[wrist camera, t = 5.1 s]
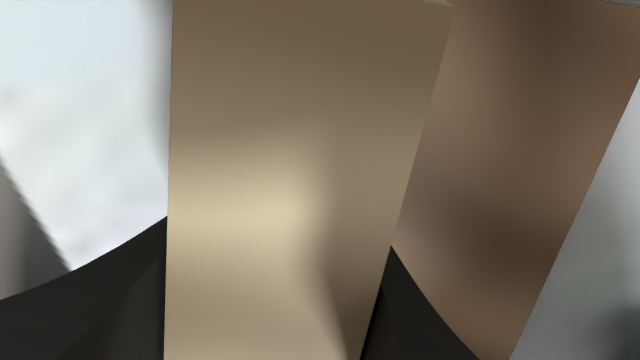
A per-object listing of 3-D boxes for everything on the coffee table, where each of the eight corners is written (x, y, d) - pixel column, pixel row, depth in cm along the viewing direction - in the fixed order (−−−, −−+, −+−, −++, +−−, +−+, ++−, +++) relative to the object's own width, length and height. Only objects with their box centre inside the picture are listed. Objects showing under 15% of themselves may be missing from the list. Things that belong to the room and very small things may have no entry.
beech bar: (320, 398, 16) (313, 527, 12) (202, 378, 16) (159, 504, 12) (418, -14, 10) (456, 7, 7) (235, -48, 10) (174, -45, 7)
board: (493, 371, 19) (497, 383, 19) (223, 327, 19) (219, 338, 18) (656, 10, 13) (669, 13, 13) (261, -62, 13) (258, -63, 12)
